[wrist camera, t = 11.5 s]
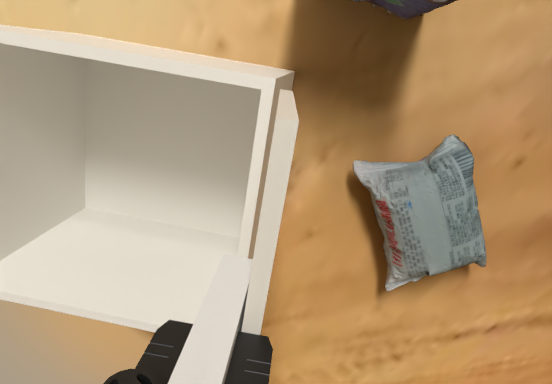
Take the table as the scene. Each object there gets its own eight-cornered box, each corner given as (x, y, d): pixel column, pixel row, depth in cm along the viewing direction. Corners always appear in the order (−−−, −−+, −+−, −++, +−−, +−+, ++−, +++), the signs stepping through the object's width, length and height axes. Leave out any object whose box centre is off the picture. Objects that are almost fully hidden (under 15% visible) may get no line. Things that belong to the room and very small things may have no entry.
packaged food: (381, 274, 36) (390, 305, 32) (350, 156, 33) (355, 171, 28) (477, 253, 35) (502, 282, 30) (455, 127, 32) (479, 138, 27)
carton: (265, 245, 37) (233, 349, 23) (84, 209, 37) (-45, 289, 24) (295, 71, 31) (276, 78, 18) (82, 33, 32) (-84, 15, 19)
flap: (238, 348, 23) (248, 350, 23) (213, 506, 15) (228, 508, 15) (280, 89, 18) (292, 91, 18) (275, 117, 10) (299, 121, 10)
